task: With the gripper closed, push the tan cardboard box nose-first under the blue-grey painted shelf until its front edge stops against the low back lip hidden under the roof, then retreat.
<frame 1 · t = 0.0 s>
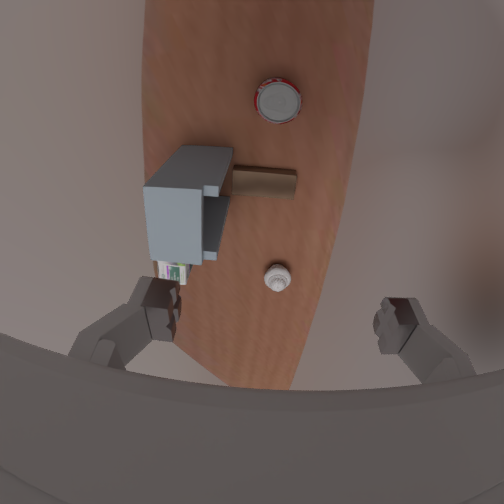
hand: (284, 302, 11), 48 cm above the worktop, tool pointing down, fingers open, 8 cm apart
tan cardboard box: (263, 178, 59), on the worktop
shelf: (206, 174, 58), on the worktop
white ceramic jar: (277, 268, 71), on the worktop
soda can: (275, 95, 49), on the worktop
syrup box: (188, 231, 66), on the worktop
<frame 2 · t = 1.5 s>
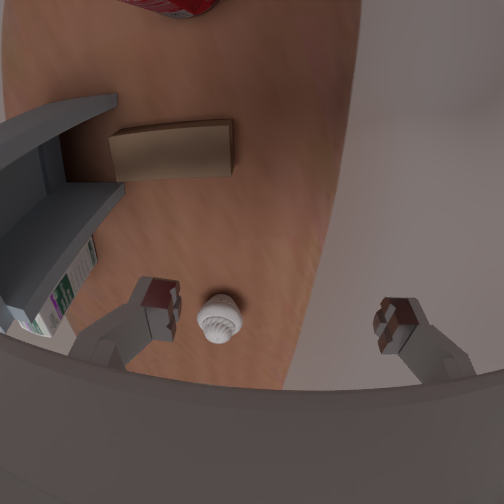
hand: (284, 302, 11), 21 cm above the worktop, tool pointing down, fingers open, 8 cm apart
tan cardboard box: (176, 144, 29), on the worktop
shelf: (83, 147, 29), on the worktop
white ceramic jar: (222, 300, 42), on the worktop
syrup box: (78, 242, 37), on the worktop
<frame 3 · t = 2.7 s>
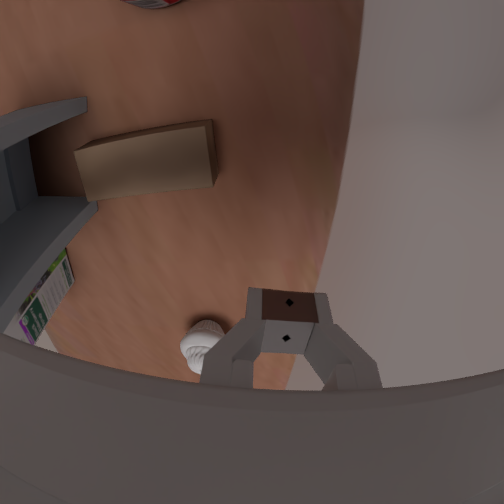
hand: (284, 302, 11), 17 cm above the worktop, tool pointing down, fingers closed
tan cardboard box: (151, 154, 25), on the worktop
shelf: (53, 157, 25), on the worktop
white ceramic jar: (209, 326, 38), on the worktop
syrup box: (54, 261, 33), on the worktop
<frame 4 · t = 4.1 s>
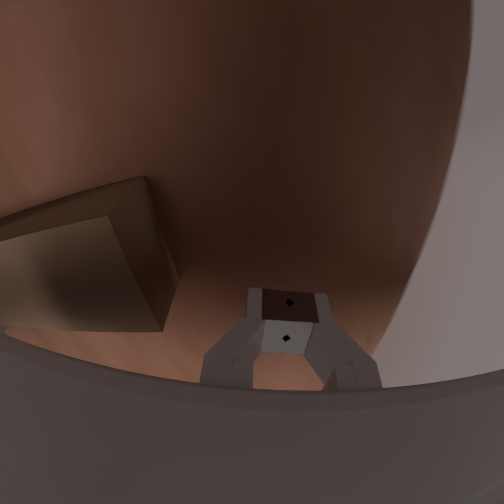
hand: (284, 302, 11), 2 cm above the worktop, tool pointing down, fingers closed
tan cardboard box: (62, 244, 13), on the worktop
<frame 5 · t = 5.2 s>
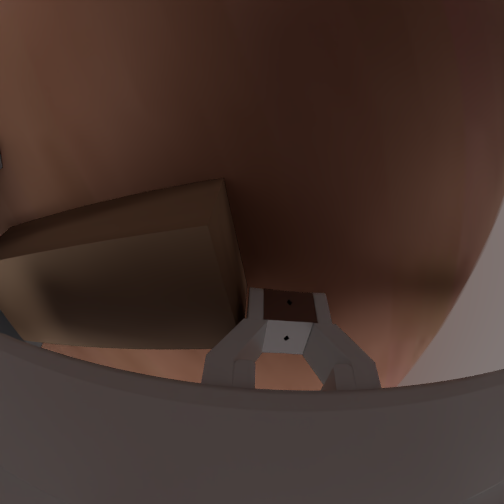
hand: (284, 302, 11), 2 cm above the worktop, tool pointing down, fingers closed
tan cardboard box: (108, 252, 13), on the worktop, touching gripper
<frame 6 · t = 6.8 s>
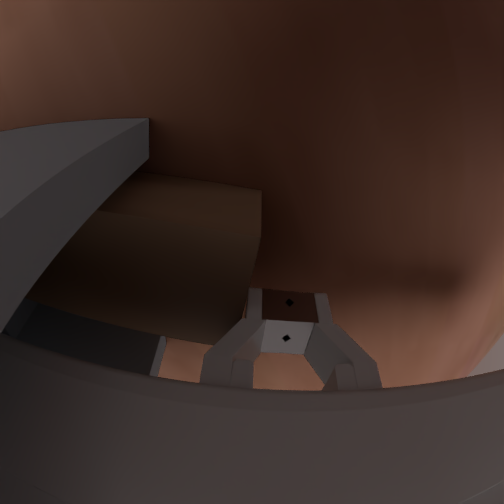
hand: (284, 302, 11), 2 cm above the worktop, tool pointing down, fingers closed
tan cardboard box: (112, 219, 12), on the worktop
shelf: (62, 246, 12), on the worktop
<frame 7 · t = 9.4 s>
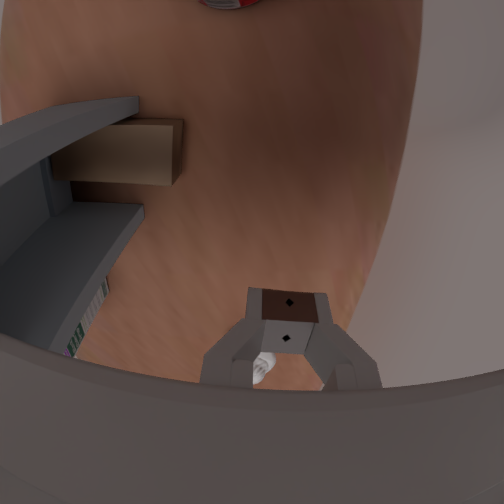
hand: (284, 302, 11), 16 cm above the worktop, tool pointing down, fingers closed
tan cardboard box: (121, 143, 24), on the worktop
shelf: (94, 160, 25), on the worktop
white ceramic jar: (251, 335, 38), on the worktop
syrup box: (87, 270, 33), on the worktop
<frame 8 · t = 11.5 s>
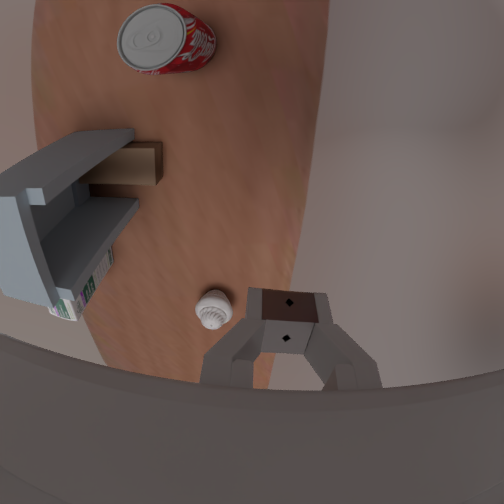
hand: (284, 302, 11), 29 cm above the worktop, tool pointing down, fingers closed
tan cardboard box: (123, 158, 38), on the worktop
shelf: (105, 169, 38), on the worktop
white ceramic jar: (216, 295, 51), on the worktop
soda can: (188, 46, 29), on the worktop
syrup box: (98, 246, 46), on the worktop
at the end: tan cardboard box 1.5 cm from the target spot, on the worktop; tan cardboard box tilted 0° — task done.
